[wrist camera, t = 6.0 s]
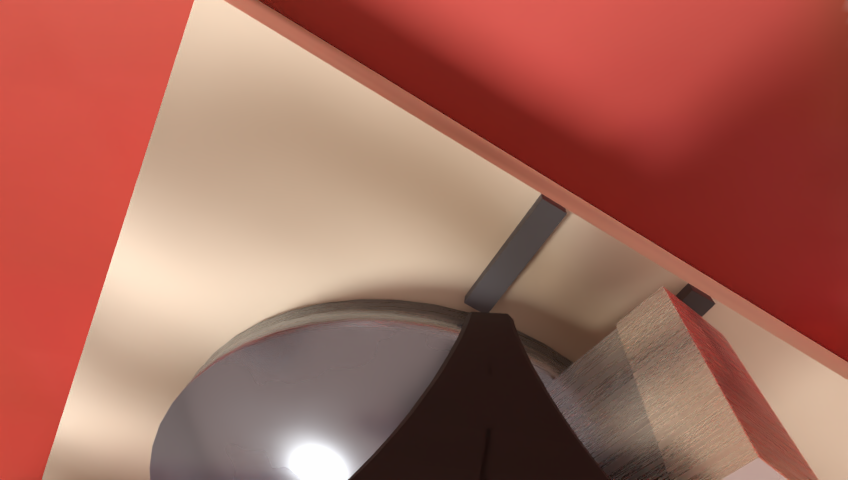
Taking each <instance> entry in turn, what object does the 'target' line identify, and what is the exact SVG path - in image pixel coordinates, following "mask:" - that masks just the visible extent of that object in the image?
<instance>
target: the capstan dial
mask: <svg viewBox="0 0 848 480" xmlns="http://www.w3.org/2000/svg"><path fill="white" fill-rule="evenodd" d="M468 314H470V313H469V312H465V311H461V310H456V309H452V308H448V307H444V306H440V305H435V304H428V303H420V302H411V301H403V300H383V299H356V300H347V301H338V302H328V303H321V304H317V305H313V306H308V307H304V308H300V309H296V310H291V311H288V312H285V313H283V314H280V315H278V316H275V317H272V318H270V319H267V320H265V321H262V322H260V323H258V324H256V325H254V326H252V327H251V328H249V329H247V330H245V331H244V332H242V333H240V334H238V335H236V336H235V337H233V338H232V339H231V340H230V341H228V342H227V343H226V344H225V345H223V346H222V347H221V348H220V349H218V350H217V351H216V352H215V353H213V354H212V356H211V357H210V358H209V359H208V360H207V361H206V362H205V364H204V365H203V366H202V367H201V368H200V369H199V370H198V371H197V373H196V374H195V375H194V376H193V378H192V379H191V380H190V382H189V383H188V384H187V385H186V387H185V388H184V389H183V390H182V392H181V393H180V394H179V395H178V397H177V398H176V399H175V400H174V402H173V403H172V404H171V406H170V408H169V410H168V411H167V413H166V415H165V416H164V418H163V420H162V421H161V423H160V425H159V428H158V431H157V434H156V437H155V440H154V443H153V446H152V452H151V460H150V468H149V469H150V480H348V479H349V478H350V477H351V476H352V475H353V474H354V473H355V472H356V471H357V470H358V469H359V468H360V467H361V466H362V465H363V464H364V463H365V462H366V461H367V460H368V459H369V458H370V457H371V456H372V455H373V454H374V453H375V452H376V451H377V449H378V448H379V447H380V446H381V445H382V444H383V443H384V442H385V441H386V439H387V438H388V437H389V436H390V435H391V434H392V433H393V431H394V430H395V429H396V428H397V427H398V425H399V424H400V423H401V422H402V420H403V419H404V418H405V417H406V416H407V414H408V413H409V412H410V410H411V409H412V408H413V406H414V405H415V403H416V402H417V401H418V399H419V398H420V397H421V395H422V394H423V393H424V391H425V390H426V388H427V387H428V386H429V384H430V383H431V381H432V380H433V378H434V377H435V375H436V374H437V372H438V370H439V369H440V367H441V365H442V364H443V362H444V361H445V359H446V357H447V356H448V354H449V352H450V350H451V349H452V347H453V345H454V343H455V341H456V339H457V337H458V335H459V333H460V331H461V328H462V326H463V323H464V320H465V317H466V316H467V315H468ZM616 327H617V328H616V329H615V330H614V331H613V332H611V333H610V334H609V335H608V336H606V337H605V338H604V339H603V340H602V341H600V342H599V343H598V344H597V345H595V346H594V347H593V348H592V349H590V350H589V351H588V352H587V353H586V354H584V355H583V356H582V357H581V358H579V359H578V360H577V361H576V362H574V363H573V362H572V361H570V360H569V359H567V358H566V357H564V356H562V355H561V354H559V353H558V352H556V351H555V350H553V349H552V348H550V347H549V346H547V345H546V344H544V343H542V342H540V341H538V340H536V339H534V338H532V337H530V336H528V335H526V334H524V333H522V332H520V331H518V330H517V332H518V335H519V337H520V340H521V342H522V344H523V346H524V348H525V351H526V353H527V355H528V357H529V359H530V361H531V363H532V365H533V366H534V368H535V370H536V372H537V374H538V375H539V377H540V379H541V381H542V382H543V384H544V386H545V387H546V389H547V391H548V393H549V394H550V396H551V398H552V399H553V401H554V402H555V404H556V406H557V407H558V409H559V410H560V412H561V413H562V415H563V416H564V418H565V419H566V421H567V422H568V424H569V425H570V427H571V428H572V429H573V431H574V432H575V434H576V435H577V437H578V438H579V439H580V441H581V442H582V443H583V445H584V446H585V447H586V449H587V450H588V451H589V453H590V454H591V455H592V457H593V458H594V459H595V460H596V462H597V463H598V464H599V466H600V467H601V468H602V469H603V471H604V472H605V473H606V474H607V476H608V477H609V478H610V479H611V480H818V478H817V477H816V475H815V474H814V472H813V471H812V469H811V467H810V466H809V464H808V463H807V461H806V460H805V458H804V457H803V455H802V454H801V452H800V451H799V449H798V448H797V446H796V445H795V443H794V442H793V440H792V438H791V437H790V435H789V434H788V432H787V431H786V429H785V428H784V426H783V425H782V423H781V422H780V420H779V419H778V417H777V416H776V414H775V413H774V411H773V409H772V408H771V406H770V405H769V403H768V402H767V400H766V399H765V397H764V396H763V394H762V393H761V391H760V390H759V388H758V387H757V385H756V384H755V382H754V380H753V379H752V377H751V376H750V374H749V373H748V371H747V370H746V368H745V367H744V365H743V364H742V362H741V361H740V359H739V358H738V356H737V355H736V353H735V351H734V350H733V348H732V347H731V345H730V344H729V342H728V341H727V339H726V338H725V336H724V335H723V334H722V333H720V332H719V331H718V330H717V329H715V328H714V327H713V326H712V325H711V324H709V323H708V322H707V321H706V320H704V319H703V318H702V317H701V316H699V315H698V314H697V313H696V312H694V311H693V310H692V309H691V308H690V307H688V306H687V305H686V304H685V303H683V302H682V301H681V300H680V299H678V298H677V297H676V296H675V295H674V294H672V293H671V292H670V291H669V290H667V289H666V288H665V287H664V286H662V287H661V288H659V289H658V290H657V291H656V292H655V293H653V294H652V295H651V296H650V297H648V298H647V299H646V300H645V301H644V302H642V303H641V304H640V305H639V306H637V307H636V308H635V309H634V310H633V311H631V312H630V313H629V314H628V315H626V316H625V317H624V318H623V319H622V320H620V321H619V322H618V323H617V324H616Z"/></svg>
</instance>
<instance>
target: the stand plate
mask: <svg viewBox="0 0 848 480" xmlns="http://www.w3.org/2000/svg"><path fill="white" fill-rule="evenodd" d="M662 286H664V287H665V288H666V289H667V290H669V291H670V292H671V293H672V294H674V295H675V296H676V297H677V298H678V299H680V300H681V301H682V302H683V303H685V304H686V305H687V306H688V307H690V308H691V309H692V310H693V311H694V312H696V313H697V314H698V315H699V316H701V317H702V318H703V319H704V320H706V321H707V322H708V323H709V324H711V325H712V326H713V327H714V328H715V329H717V330H718V331H719V332H720V333H722V334H723V335H724V336H725V338H726V339H727V341H728V342H729V344H730V345H731V347H732V348H733V350H734V351H735V353H736V355H737V356H738V358H739V359H740V361H741V362H742V364H743V365H744V367H745V368H746V370H747V371H748V373H749V374H750V376H751V377H752V379H753V380H754V382H755V384H756V385H757V387H758V388H759V390H760V391H761V393H762V394H763V396H764V397H765V399H766V400H767V402H768V403H769V405H770V406H771V408H772V409H773V411H774V413H775V414H776V416H777V417H778V419H779V420H780V422H781V423H782V425H783V426H784V428H785V429H786V431H787V432H788V434H789V435H790V437H791V438H792V440H793V442H794V443H795V445H796V446H797V448H798V449H799V451H800V452H801V454H802V455H803V457H804V458H805V460H806V461H807V463H808V464H809V466H810V467H811V469H812V471H813V472H814V474H815V475H816V477H817V478H818V480H848V362H847V361H845V360H843V359H842V358H840V357H838V356H837V355H835V354H834V353H832V352H830V351H829V350H827V349H825V348H824V347H822V346H821V345H819V344H817V343H816V342H814V341H812V340H811V339H809V338H808V337H806V336H804V335H803V334H801V333H799V332H798V331H796V330H795V329H793V328H791V327H790V326H788V325H786V324H785V323H783V322H781V321H780V320H778V319H777V318H775V317H773V316H772V315H770V314H768V313H767V312H765V311H764V310H762V309H760V308H759V307H757V306H755V305H754V304H752V303H751V302H749V301H747V300H746V299H744V298H742V297H741V296H739V295H738V294H736V293H734V292H733V291H731V290H729V289H728V288H726V287H724V286H723V285H721V284H720V283H718V282H716V281H715V280H713V279H711V278H710V277H708V276H707V275H705V274H703V273H702V272H700V271H698V270H697V269H695V268H694V267H692V266H690V265H689V264H687V263H685V262H684V261H682V260H680V259H679V258H677V257H676V256H674V255H672V254H671V253H669V252H667V251H666V250H664V249H663V248H661V247H659V246H658V245H656V244H654V243H653V242H651V241H650V240H648V239H646V238H645V237H643V236H641V235H640V234H638V233H637V232H635V231H633V230H632V229H630V228H628V227H627V226H625V225H623V224H622V223H620V222H619V221H617V220H615V219H614V218H612V217H610V216H609V215H607V214H606V213H604V212H602V211H601V210H599V209H597V208H596V207H594V206H593V205H591V204H589V203H588V202H586V201H584V200H583V199H581V198H580V197H578V196H576V195H575V194H573V193H571V192H570V191H568V190H566V189H565V188H563V187H562V186H560V185H558V184H557V183H555V182H553V181H552V180H550V179H549V178H547V177H545V176H544V175H542V174H540V173H539V172H537V171H536V170H534V169H532V168H531V167H529V166H527V165H526V164H524V163H522V162H521V161H519V160H518V159H516V158H514V157H513V156H511V155H509V154H508V153H506V152H505V151H503V150H501V149H500V148H498V147H496V146H495V145H493V144H492V143H490V142H488V141H487V140H485V139H483V138H482V137H480V136H479V135H477V134H475V133H474V132H472V131H470V130H469V129H467V128H465V127H464V126H462V125H461V124H459V123H457V122H456V121H454V120H452V119H451V118H449V117H448V116H446V115H444V114H443V113H441V112H439V111H438V110H436V109H435V108H433V107H431V106H430V105H428V104H426V103H425V102H423V101H422V100H420V99H418V98H417V97H415V96H413V95H412V94H410V93H408V92H407V91H405V90H404V89H402V88H400V87H399V86H397V85H395V84H394V83H392V82H391V81H389V80H387V79H386V78H384V77H382V76H381V75H379V74H378V73H376V72H374V71H373V70H371V69H369V68H368V67H366V66H364V65H363V64H361V63H360V62H358V61H356V60H355V59H353V58H351V57H350V56H348V55H347V54H345V53H343V52H342V51H340V50H338V49H337V48H335V47H334V46H332V45H330V44H329V43H327V42H325V41H324V40H322V39H321V38H319V37H317V36H316V35H314V34H312V33H311V32H309V31H307V30H306V29H304V28H303V27H301V26H299V25H298V24H296V23H294V22H293V21H291V20H290V19H288V18H286V17H285V16H283V15H281V14H280V13H278V12H277V11H275V10H273V9H272V8H270V7H268V6H267V5H265V4H264V3H262V2H260V1H259V0H194V3H193V6H192V9H191V13H190V16H189V19H188V22H187V25H186V28H185V31H184V34H183V38H182V41H181V44H180V47H179V50H178V53H177V56H176V60H175V63H174V66H173V69H172V72H171V75H170V78H169V82H168V85H167V88H166V91H165V94H164V97H163V100H162V104H161V107H160V110H159V113H158V116H157V119H156V122H155V126H154V129H153V132H152V135H151V138H150V141H149V144H148V148H147V151H146V154H145V157H144V160H143V163H142V166H141V170H140V173H139V176H138V179H137V182H136V185H135V188H134V192H133V195H132V198H131V201H130V204H129V207H128V210H127V214H126V217H125V220H124V223H123V226H122V229H121V232H120V235H119V239H118V242H117V245H116V248H115V251H114V254H113V257H112V261H111V264H110V267H109V270H108V273H107V276H106V279H105V283H104V286H103V289H102V292H101V295H100V298H99V301H98V305H97V308H96V311H95V314H94V317H93V320H92V323H91V327H90V330H89V333H88V336H87V339H86V342H85V345H84V349H83V352H82V355H81V358H80V361H79V364H78V367H77V371H76V374H75V377H74V380H73V383H72V386H71V389H70V393H69V396H68V399H67V402H66V405H65V408H64V411H63V414H62V418H61V421H60V424H59V427H58V430H57V433H56V436H55V440H54V443H53V446H52V449H51V452H50V455H49V458H48V462H47V465H46V468H45V471H44V474H43V477H42V480H150V469H149V468H150V460H151V452H152V446H153V443H154V440H155V437H156V434H157V431H158V428H159V425H160V423H161V421H162V420H163V418H164V416H165V415H166V413H167V411H168V410H169V408H170V406H171V404H172V403H173V402H174V400H175V399H176V398H177V397H178V395H179V394H180V393H181V392H182V390H183V389H184V388H185V387H186V385H187V384H188V383H189V382H190V380H191V379H192V378H193V376H194V375H195V374H196V373H197V371H198V370H199V369H200V368H201V367H202V366H203V365H204V364H205V362H206V361H207V360H208V359H209V358H210V357H211V356H212V354H213V353H215V352H216V351H217V350H218V349H220V348H221V347H222V346H223V345H225V344H226V343H227V342H228V341H230V340H231V339H232V338H233V337H235V336H236V335H238V334H240V333H242V332H244V331H245V330H247V329H249V328H251V327H252V326H254V325H256V324H258V323H260V322H262V321H265V320H267V319H270V318H272V317H275V316H278V315H280V314H283V313H285V312H288V311H291V310H296V309H300V308H304V307H308V306H313V305H317V304H321V303H328V302H338V301H347V300H356V299H383V300H403V301H411V302H420V303H428V304H435V305H440V306H444V307H448V308H452V309H456V310H461V311H465V312H469V313H471V312H487V313H506V314H509V315H510V317H511V318H512V319H513V320H514V324H515V327H516V330H518V331H520V332H522V333H524V334H526V335H528V336H530V337H532V338H534V339H536V340H538V341H540V342H542V343H544V344H546V345H547V346H549V347H550V348H552V349H553V350H555V351H556V352H558V353H559V354H561V355H562V356H564V357H566V358H567V359H569V360H570V361H572V362H573V363H574V362H576V361H577V360H578V359H579V358H581V357H582V356H583V355H584V354H586V353H587V352H588V351H589V350H590V349H592V348H593V347H594V346H595V345H597V344H598V343H599V342H600V341H602V340H603V339H604V338H605V337H606V336H608V335H609V334H610V333H611V332H613V331H614V330H615V329H616V328H617V327H616V324H617V323H618V322H619V321H620V320H622V319H623V318H624V317H625V316H626V315H628V314H629V313H630V312H631V311H633V310H634V309H635V308H636V307H637V306H639V305H640V304H641V303H642V302H644V301H645V300H646V299H647V298H648V297H650V296H651V295H652V294H653V293H655V292H656V291H657V290H658V289H659V288H661V287H662Z"/></svg>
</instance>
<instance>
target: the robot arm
mask: <svg viewBox="0 0 848 480" xmlns="http://www.w3.org/2000/svg"><path fill="white" fill-rule="evenodd" d="M348 480H611V479H610V478H609V477H608V476H607V474H606V473H605V472H604V471H603V469H602V468H601V467H600V466H599V464H598V463H597V462H596V460H595V459H594V458H593V457H592V455H591V454H590V453H589V451H588V450H587V449H586V447H585V446H584V445H583V443H582V442H581V441H580V439H579V438H578V437H577V435H576V434H575V432H574V431H573V429H572V428H571V427H570V425H569V424H568V422H567V421H566V419H565V418H564V416H563V415H562V413H561V412H560V410H559V409H558V407H557V406H556V404H555V402H554V401H553V399H552V398H551V396H550V394H549V393H548V391H547V389H546V387H545V386H544V384H543V382H542V381H541V379H540V377H539V375H538V374H537V372H536V370H535V368H534V366H533V365H532V363H531V361H530V359H529V357H528V355H527V353H526V351H525V348H524V346H523V344H522V342H521V340H520V337H519V335H518V332H517V330H516V327H515V324H514V320H513V319H512V318H511V317H510V315H509V314H506V313H487V312H471V313H470V314H468V315H467V316H466V317H465V320H464V323H463V326H462V328H461V331H460V333H459V335H458V337H457V339H456V341H455V343H454V345H453V347H452V349H451V350H450V352H449V354H448V356H447V357H446V359H445V361H444V362H443V364H442V365H441V367H440V369H439V370H438V372H437V374H436V375H435V377H434V378H433V380H432V381H431V383H430V384H429V386H428V387H427V388H426V390H425V391H424V393H423V394H422V395H421V397H420V398H419V399H418V401H417V402H416V403H415V405H414V406H413V408H412V409H411V410H410V412H409V413H408V414H407V416H406V417H405V418H404V419H403V420H402V422H401V423H400V424H399V425H398V427H397V428H396V429H395V430H394V431H393V433H392V434H391V435H390V436H389V437H388V438H387V439H386V441H385V442H384V443H383V444H382V445H381V446H380V447H379V448H378V449H377V451H376V452H375V453H374V454H373V455H372V456H371V457H370V458H369V459H368V460H367V461H366V462H365V463H364V464H363V465H362V466H361V467H360V468H359V469H358V470H357V471H356V472H355V473H354V474H353V475H352V476H351V477H350V478H349V479H348Z"/></svg>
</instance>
